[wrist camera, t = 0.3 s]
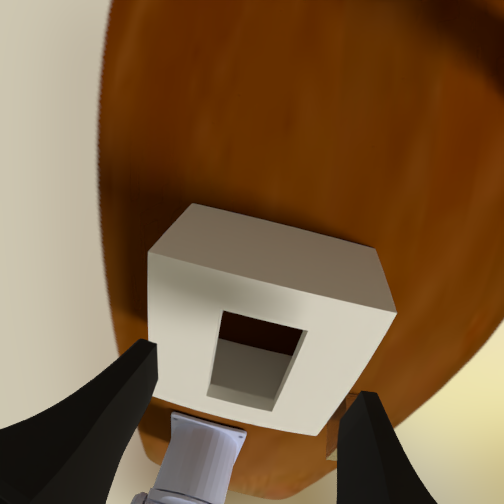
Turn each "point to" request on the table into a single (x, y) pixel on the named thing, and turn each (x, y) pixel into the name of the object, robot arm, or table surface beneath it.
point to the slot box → (262, 317)
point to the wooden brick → (336, 426)
